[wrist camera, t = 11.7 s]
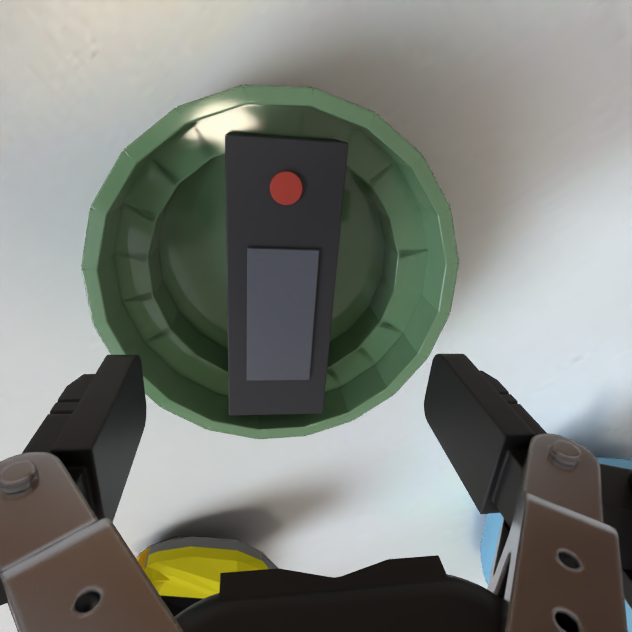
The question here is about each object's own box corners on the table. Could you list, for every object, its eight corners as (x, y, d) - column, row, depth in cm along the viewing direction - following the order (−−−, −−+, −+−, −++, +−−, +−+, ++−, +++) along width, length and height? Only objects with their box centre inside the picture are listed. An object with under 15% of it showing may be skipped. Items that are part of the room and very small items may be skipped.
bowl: (48, 225, 20) (-10, 257, 16) (311, 13, 18) (330, -20, 14) (250, 424, 27) (249, 486, 22) (464, 283, 25) (511, 321, 20)
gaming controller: (280, 506, 30) (127, 512, 28) (286, 583, 25) (101, 596, 23) (269, 638, 36) (143, 649, 35) (272, 721, 31) (125, 738, 30)
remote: (228, 131, 17) (224, 134, 15) (337, 139, 18) (349, 143, 16) (231, 386, 22) (228, 418, 20) (316, 385, 23) (323, 415, 21)
